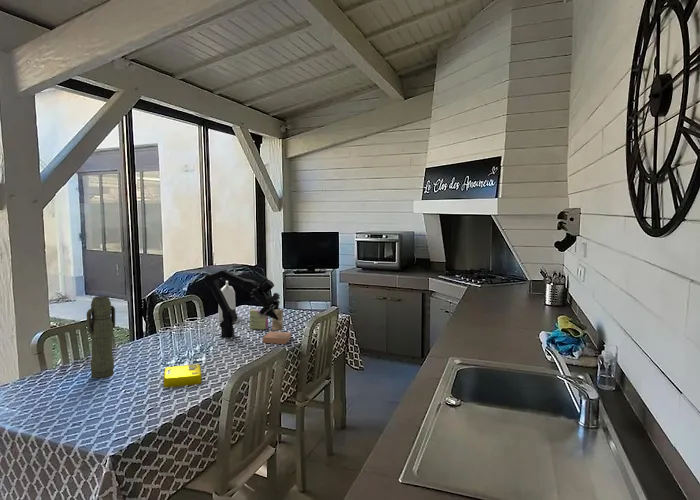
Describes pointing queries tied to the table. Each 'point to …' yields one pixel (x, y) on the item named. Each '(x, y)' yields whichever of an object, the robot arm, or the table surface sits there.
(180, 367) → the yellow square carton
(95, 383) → the table surface
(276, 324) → the post
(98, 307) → the thermos
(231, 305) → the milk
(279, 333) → the base
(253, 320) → the box
